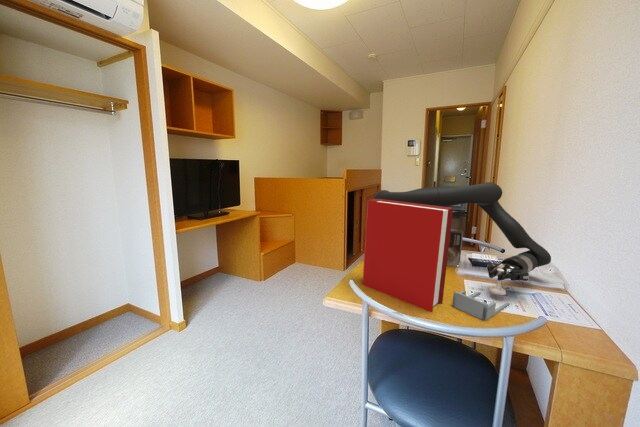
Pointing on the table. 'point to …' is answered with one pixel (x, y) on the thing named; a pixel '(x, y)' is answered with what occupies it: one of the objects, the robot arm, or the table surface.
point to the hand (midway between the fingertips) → (494, 276)
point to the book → (407, 250)
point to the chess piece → (498, 284)
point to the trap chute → (475, 305)
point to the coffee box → (455, 247)
